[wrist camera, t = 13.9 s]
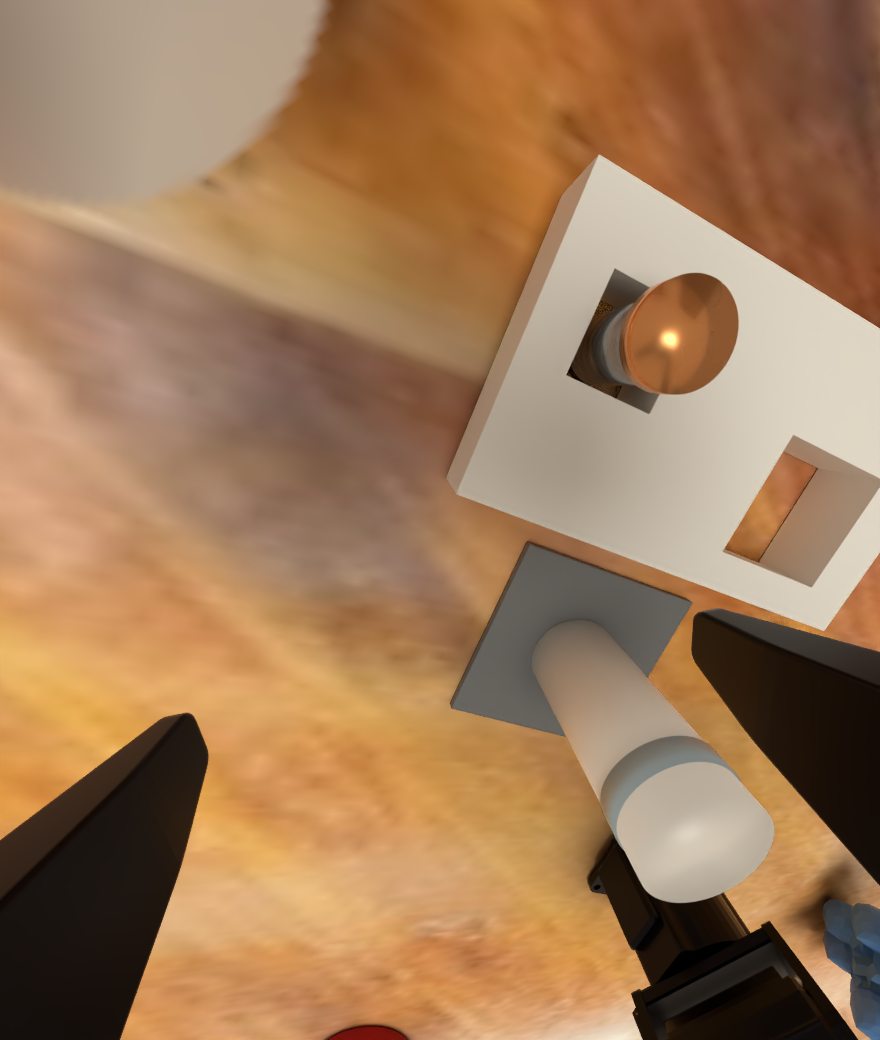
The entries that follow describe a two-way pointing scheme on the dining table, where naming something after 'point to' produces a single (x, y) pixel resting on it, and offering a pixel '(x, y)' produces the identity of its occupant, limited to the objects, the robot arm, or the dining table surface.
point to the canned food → (368, 1034)
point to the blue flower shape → (857, 957)
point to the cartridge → (650, 769)
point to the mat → (544, 604)
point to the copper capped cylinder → (662, 338)
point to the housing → (683, 411)
